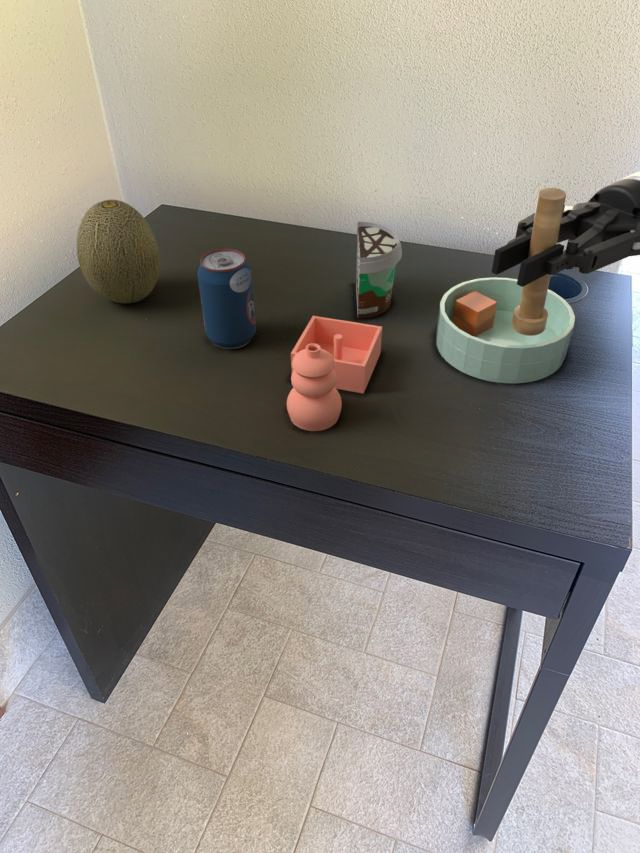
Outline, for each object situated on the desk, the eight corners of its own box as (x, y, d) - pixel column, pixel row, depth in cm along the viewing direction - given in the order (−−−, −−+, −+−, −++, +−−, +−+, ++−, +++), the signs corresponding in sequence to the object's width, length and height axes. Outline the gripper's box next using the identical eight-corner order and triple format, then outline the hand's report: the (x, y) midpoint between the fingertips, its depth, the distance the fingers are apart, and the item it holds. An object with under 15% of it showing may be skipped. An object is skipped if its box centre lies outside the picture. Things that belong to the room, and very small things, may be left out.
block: (493, 327, 95) (497, 302, 93) (473, 337, 93) (478, 312, 91) (471, 315, 98) (475, 290, 95) (452, 325, 96) (455, 300, 93)
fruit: (97, 325, 98) (71, 226, 88) (83, 288, 105) (58, 194, 95) (175, 307, 101) (158, 210, 91) (156, 273, 109) (139, 180, 99)
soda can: (265, 342, 94) (259, 263, 86) (218, 357, 91) (207, 277, 83) (244, 319, 98) (236, 241, 90) (199, 332, 96) (187, 254, 88)
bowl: (591, 349, 92) (602, 314, 88) (509, 401, 84) (517, 365, 80) (491, 298, 102) (497, 265, 98) (409, 340, 94) (413, 305, 90)
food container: (401, 324, 97) (406, 259, 90) (358, 324, 97) (360, 260, 90) (395, 280, 106) (399, 219, 100) (355, 280, 106) (357, 219, 100)
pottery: (313, 341, 94) (312, 277, 87) (380, 353, 92) (384, 288, 85) (267, 424, 81) (261, 356, 75) (344, 439, 79) (345, 371, 72)
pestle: (552, 328, 83) (580, 195, 71) (526, 339, 82) (550, 205, 70) (530, 312, 85) (553, 181, 74) (504, 323, 84) (524, 191, 72)
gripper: (680, 259, 83) (562, 328, 72) (569, 216, 92) (450, 272, 81) (702, 199, 78) (580, 263, 67) (583, 160, 87) (457, 211, 76)
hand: (509, 268), depth 74 cm, fingers closed on pestle, 3 cm apart
